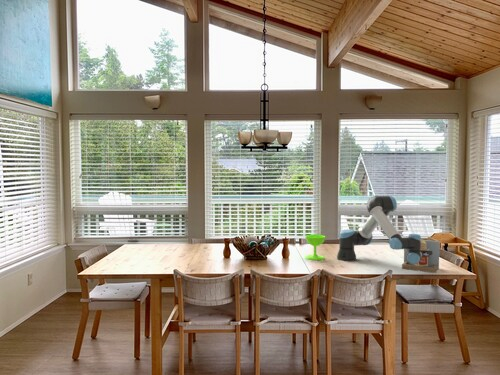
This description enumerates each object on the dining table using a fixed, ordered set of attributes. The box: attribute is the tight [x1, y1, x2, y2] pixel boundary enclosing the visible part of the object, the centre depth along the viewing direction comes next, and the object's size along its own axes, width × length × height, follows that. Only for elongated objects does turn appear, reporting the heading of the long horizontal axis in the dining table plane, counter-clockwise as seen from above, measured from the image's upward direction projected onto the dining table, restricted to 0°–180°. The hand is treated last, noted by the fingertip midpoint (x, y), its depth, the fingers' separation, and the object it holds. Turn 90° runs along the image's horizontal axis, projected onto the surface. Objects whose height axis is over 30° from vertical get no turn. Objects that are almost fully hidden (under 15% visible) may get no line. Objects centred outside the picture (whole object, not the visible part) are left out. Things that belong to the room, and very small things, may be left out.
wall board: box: [401, 239, 441, 273], centre depth 284 cm, size 24×15×20 cm, turn 59°
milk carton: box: [413, 238, 428, 266], centre depth 285 cm, size 9×9×20 cm
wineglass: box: [304, 234, 326, 261], centre depth 317 cm, size 16×16×18 cm
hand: (421, 249), depth 289 cm, fingers closed on milk carton, 9 cm apart
